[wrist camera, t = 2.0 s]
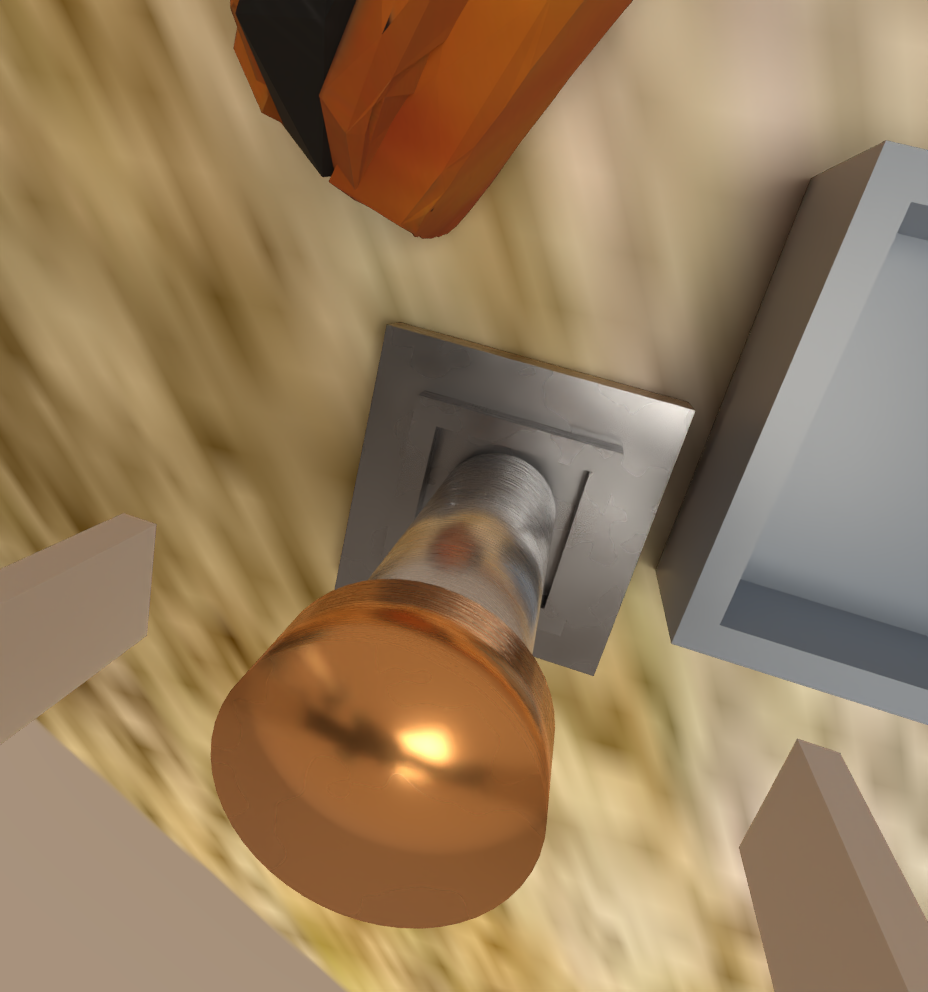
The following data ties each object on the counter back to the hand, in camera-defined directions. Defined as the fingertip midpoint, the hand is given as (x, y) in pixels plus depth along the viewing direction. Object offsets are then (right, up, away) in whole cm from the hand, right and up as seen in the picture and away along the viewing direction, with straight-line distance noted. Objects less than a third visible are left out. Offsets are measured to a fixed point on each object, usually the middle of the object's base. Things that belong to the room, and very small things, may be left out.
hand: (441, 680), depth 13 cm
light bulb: (+2, +3, +9) cm, 10 cm away
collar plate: (+2, +4, +10) cm, 11 cm away
